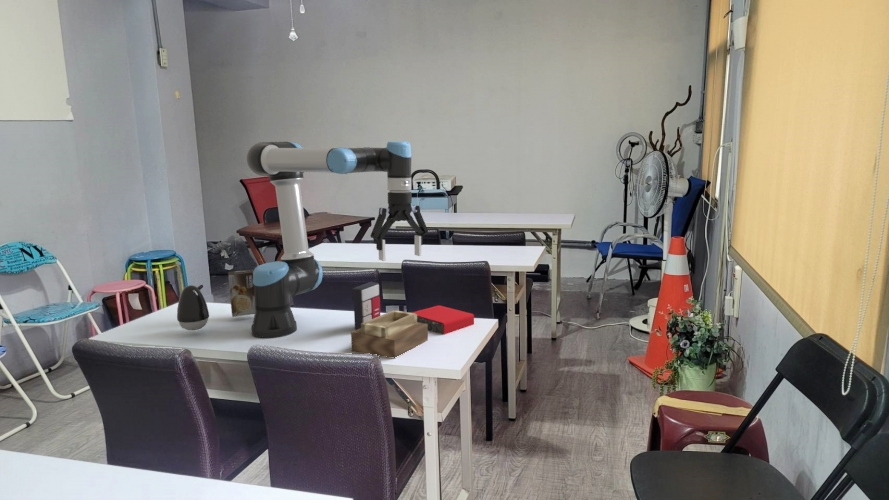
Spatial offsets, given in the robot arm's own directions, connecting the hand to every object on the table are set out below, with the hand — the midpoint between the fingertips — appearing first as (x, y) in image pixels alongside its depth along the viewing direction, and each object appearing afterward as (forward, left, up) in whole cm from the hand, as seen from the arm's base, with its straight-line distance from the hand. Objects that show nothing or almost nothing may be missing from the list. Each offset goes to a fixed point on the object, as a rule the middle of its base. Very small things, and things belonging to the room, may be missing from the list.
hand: (400, 257), depth 190 cm
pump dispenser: (-69, -27, -26) cm, 79 cm away
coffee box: (-68, -6, -26) cm, 73 cm away
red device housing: (+6, +15, -27) cm, 31 cm away
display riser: (+3, -11, -26) cm, 28 cm away
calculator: (-15, +1, -26) cm, 30 cm away
